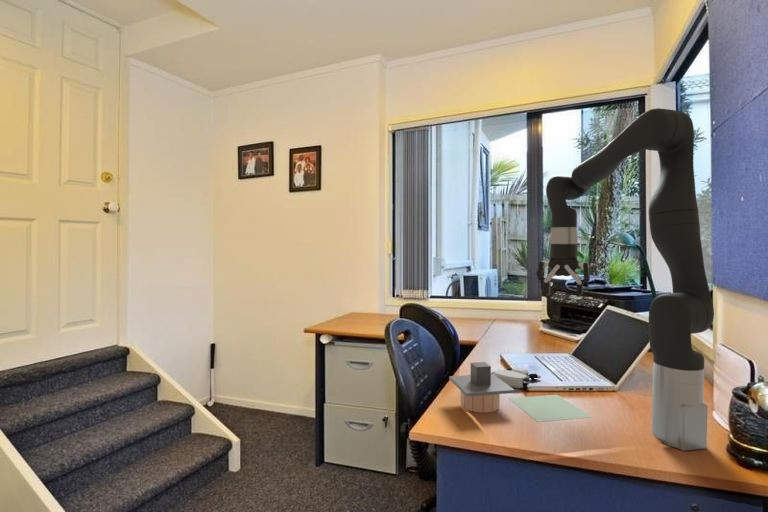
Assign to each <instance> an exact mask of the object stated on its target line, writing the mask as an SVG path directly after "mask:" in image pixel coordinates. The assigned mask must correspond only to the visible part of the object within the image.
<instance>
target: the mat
mask: <svg viewBox="0 0 768 512" xmlns="http://www.w3.org/2000/svg"><path fill="white" fill-rule="evenodd" d="M508 400H509V401H511V402H512V403H513V404H514V405H515V406H517V407H518V408H520V410H522V411H523V412H524V413H526V414H527V415H529V417H531V418H532V419H533V420H534V421H536V422H537V423H543V422H552V421H564V420H574V419H576V420H577V419H587V418H588V419H589V418H593V416H592V415H590V414H589V413H587V412H586V411H584V410H583V409H580V408H579V407H577V406H576V405H574V404H572V402H570V401H568V400H566V399H565V398H563V397H562V396H560V395H558V394H551V395H550V394H548V395H547V394H546V395H537V396H524V397H523V396H522V397H511V398H508Z"/></svg>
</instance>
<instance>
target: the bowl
mask: <svg viewBox="0 0 768 512" xmlns="http://www.w3.org/2000/svg"><path fill="white" fill-rule="evenodd" d="M500 399H501V394H495V395H482V396H468V397H467V396H466V395H465V394H464V393H463V392H462V391H461V390H460V406H461V409H462V410H463V411H464V412H465V413H466V412H467V413H468V414H471V412H475V413H482V414H484V413H493V412H495V411H498V410H500V406H501V405H500Z"/></svg>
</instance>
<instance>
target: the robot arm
mask: <svg viewBox="0 0 768 512" xmlns="http://www.w3.org/2000/svg"><path fill="white" fill-rule="evenodd" d="M694 134H695V129H694V123H693V120H692V118H691V117H690V115H689V114H687V113H686V112H684V111H681V110H676V109H675V110H674V109H670V108H669V109H667V108H659V107H658V108H652V109H649V110H646V111H644V112H643V113H642V114H640V115H639V116H637V117H636V119H635V120H633V121H632V122H631V123H630V124H628V126H627V127H625V129H624V130H622V131H621V132H620V133H618V135H617V136H615V137H614V138H613V139H612V140H611V141H610V142H609V143H608V144H607V145H606V146H604V147H603V148H602V149H601V150H599V151H598V152H596V154H594V155H592V156H591V157H588V158H587V159H586V160H585V161H583V162H581V163H580V164H578V165H577V166H576V167H575V168H574V169H573V170H572V173H571V176H569V175H568V176H566V175H565V176H564V175H555V176H551V178H549V179H548V181H547V184H546V187H545V193H546V198H547V203H548V205H549V210H550V213H551V231H550V239H549V243H550V244H549V245H550V246H549V247H550V254H549V258H550V259H549V261H544V260H541V261H539V263H538V274H537V279H538V281H541V282H543V283H544V294H545V295H546V296H550V295H551V280H553V278H554V277H555V276H557V277H561V276H563V277H570V276H571V277H572V279H573V280H574V281H575V282H576V283H577V284H576V298H580V297H581V296H582V295H583V294H584V293H583V292H584V289H583V288H584V284H587V283H589V282H590V281H591V280H590V277H591V276H590V275H591V274H590V263H589V262H588V261H585V262H579V261H578V240H579V239H578V238H579V237H578V236H579V235H578V228H577V227H578V212H577V210H576V209H575V208H574V207H570V206H569V205H568V203H567V201H573V200H577V199H579V198H581V197H583V196H584V195H585V194H586V193H587V191H589V189H590V188H591V187H593V186H595V185H596V184H598V183H600V182H602V181H604V180H605V179H607V178H609V177H610V176H611V175H612V174H613V173H614V172H615V171H616V170H617V169H618V166H619V165H620V164H621V163H622V162H623V161H624V160H626V159H627V158H629V157H631V156H632V155H635V154H637V153H638V154H639V153H640V152H642V151H646V150H647V151H656V152H657V153H658V158H659V159H658V160H659V168H660V169H659V171H660V174H659V179H658V182H657V185H656V188H655V190H654V192H653V194H652V196H651V198H650V203H649V206H648V222H649V232H650V236H651V240H652V241H653V243H654V246H655V248H656V249H657V251H658V252H659V254H660V255H661V257H662V259H663V260H664V262H665V264H666V265H667V267H668V269H669V273H670V278H671V284H672V285H671V286H672V292H669V293H668V292H667V293H662V294H658V295H657V296H655V297H654V298H653V300H652V301H651V304H650V305H649V309H648V336H649V337H648V338H649V347H650V351H651V352H652V357H653V358H652V359H653V363H652V364H653V365H652V367H653V368H652V395H651V397H652V400H651V403H652V405H651V434H652V435H653V436H654V437H656V438H657V439H659V440H660V442H661V441H662V442H661V443H662V444H663V445H667V446H668V447H673V448H676V449H679V450H680V451H694V450H702V449H707V447H708V444H707V443H708V442H707V440H708V439H707V437H708V411H709V410H708V408H709V407H708V405H707V404H706V403H704V389H705V388H704V384H705V357H704V355H703V354H702V353H701V352H699V351H697V350H694V348H693V347H692V346H693V345H692V334H699V333H700V334H701V333H703V332H705V331H708V329H710V327H712V324H713V322H714V319H715V310H714V304H713V300H712V295H711V291H710V287H709V282H708V279H707V274H706V270H705V263H704V254H703V253H704V252H703V247H702V246H703V245H702V239H701V225H700V215H699V207H698V202H697V201H698V200H697V192H696V181H695V180H696V179H695V170H694V168H695V167H694V149H695V147H694V145H695V135H694ZM548 266H549V268H550V270H551V271H550V272H549V273H548V274H547V276H546V277H545V269H547V267H548ZM579 267H580V269H581V270H583V279H582V278H581V277H580V275H579V274H578V272H577V269H578V268H579Z"/></svg>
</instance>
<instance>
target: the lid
mask: <svg viewBox="0 0 768 512" xmlns="http://www.w3.org/2000/svg"><path fill="white" fill-rule="evenodd" d="M491 373H492V367H491V365H489V363H487V362H485V361H480V362H479V361H477V362H470V374H467V375H466V374H465V375H455V376H454V375H452V376H451V375H450V376H448V379H449V381H451V383H453V385H454V386H456V388H457V389H459V390H460V392H461V391H462V392H463V393H464V394H465V395H466V396H467V397H468V396H482V395H495V394H500V395H506V394H515V393H516V392H515V390H516V389H514V387H510V386H509V385H507V384H506V383H505V382H503V381H502V380H501V379H499V378H498V377H496V376H495V375H494V374H491Z"/></svg>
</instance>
